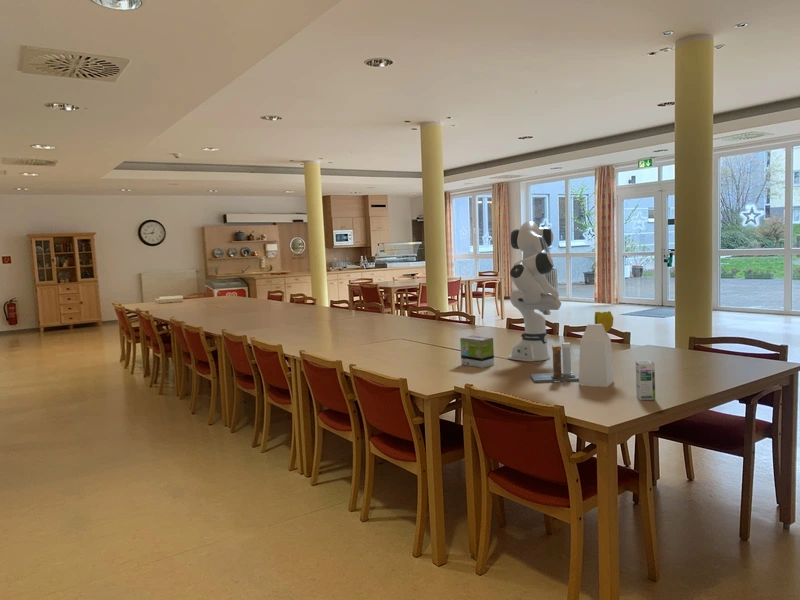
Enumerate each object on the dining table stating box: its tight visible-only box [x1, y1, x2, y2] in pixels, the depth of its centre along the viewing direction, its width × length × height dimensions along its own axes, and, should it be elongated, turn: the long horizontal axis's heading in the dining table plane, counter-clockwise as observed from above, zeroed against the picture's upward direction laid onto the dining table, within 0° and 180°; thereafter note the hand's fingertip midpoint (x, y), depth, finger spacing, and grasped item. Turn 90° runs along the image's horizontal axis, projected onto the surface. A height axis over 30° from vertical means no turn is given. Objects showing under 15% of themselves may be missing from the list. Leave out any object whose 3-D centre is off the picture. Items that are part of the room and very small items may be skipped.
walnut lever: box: [551, 344, 564, 378], centre depth 264 cm, size 5×4×14 cm
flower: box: [594, 310, 614, 333], centre depth 267 cm, size 9×8×30 cm
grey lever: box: [561, 342, 574, 375], centre depth 270 cm, size 5×4×14 cm
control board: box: [529, 372, 579, 384], centre depth 268 cm, size 20×13×2 cm, turn 86°
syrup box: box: [635, 360, 656, 401], centre depth 227 cm, size 6×6×14 cm
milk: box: [578, 323, 615, 388], centre depth 255 cm, size 12×12×26 cm
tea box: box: [459, 335, 495, 369], centre depth 308 cm, size 15×10×15 cm, turn 42°
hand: (547, 313), depth 274 cm, fingers closed
